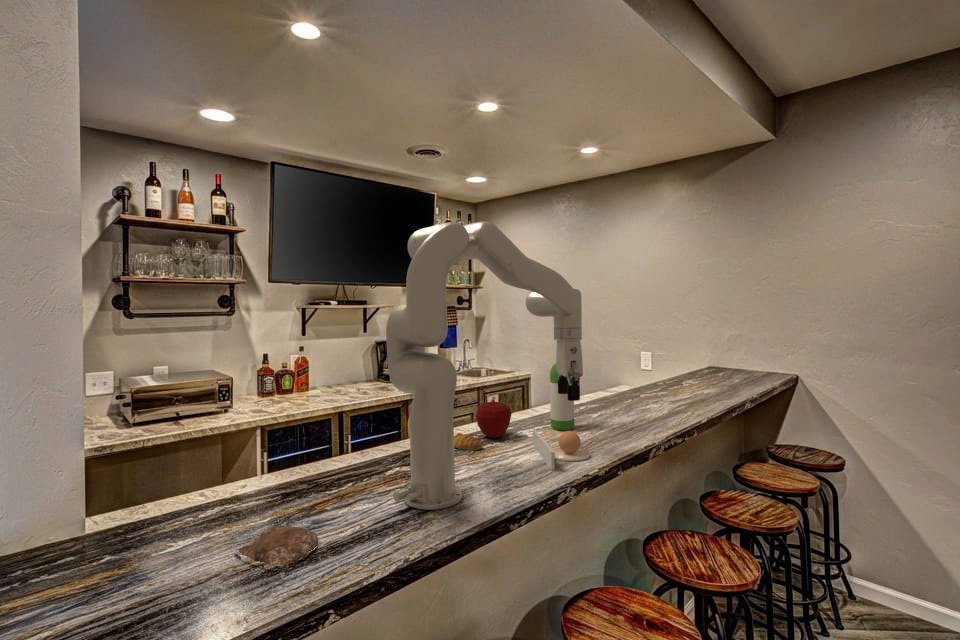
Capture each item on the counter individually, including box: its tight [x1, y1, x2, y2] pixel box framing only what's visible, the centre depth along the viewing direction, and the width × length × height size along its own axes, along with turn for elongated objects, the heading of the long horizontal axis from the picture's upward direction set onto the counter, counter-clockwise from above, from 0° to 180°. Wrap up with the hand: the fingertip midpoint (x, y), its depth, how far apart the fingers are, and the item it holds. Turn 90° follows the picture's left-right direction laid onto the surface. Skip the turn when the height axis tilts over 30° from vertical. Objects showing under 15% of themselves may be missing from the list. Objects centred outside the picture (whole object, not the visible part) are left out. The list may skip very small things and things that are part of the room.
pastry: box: [454, 432, 483, 452], centre depth 145 cm, size 9×7×4 cm
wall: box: [532, 429, 556, 471], centre depth 135 cm, size 22×1×4 cm, turn 6°
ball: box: [558, 430, 582, 453], centre depth 136 cm, size 6×6×6 cm
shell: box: [237, 525, 320, 566], centre depth 87 cm, size 12×13×4 cm
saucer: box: [551, 447, 591, 463], centre depth 136 cm, size 11×11×1 cm
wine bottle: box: [549, 362, 575, 432], centre depth 164 cm, size 8×8×30 cm
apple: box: [475, 400, 512, 439], centre depth 155 cm, size 11×11×12 cm
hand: (568, 396), depth 135 cm, fingers open, 9 cm apart
